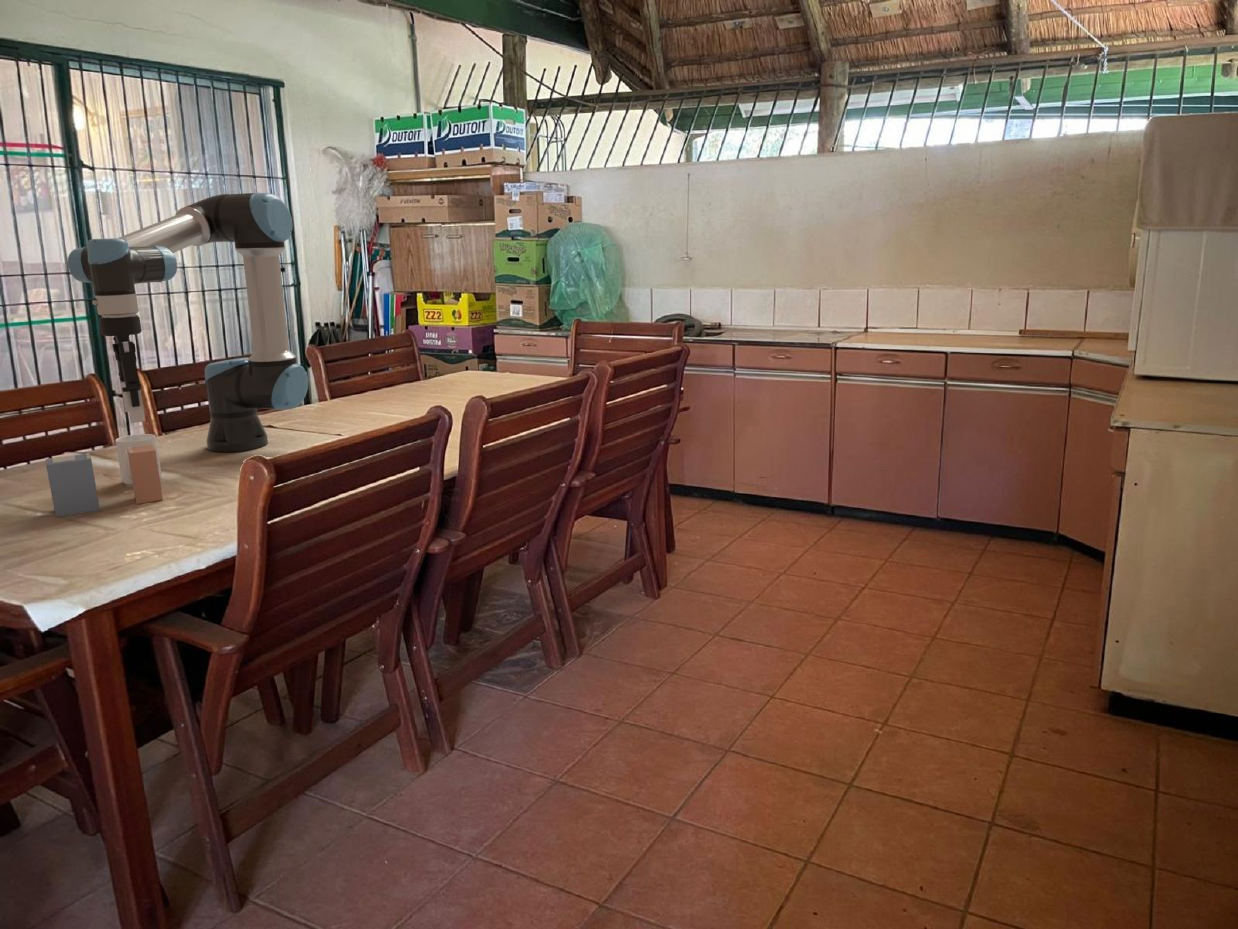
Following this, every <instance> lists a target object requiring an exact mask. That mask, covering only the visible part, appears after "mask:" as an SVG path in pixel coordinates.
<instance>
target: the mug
mask: <svg viewBox="0 0 1238 929" xmlns="http://www.w3.org/2000/svg"><path fill="white" fill-rule="evenodd" d="M114 442H115V446H116V452H117V458H118V465H119V470H120V476H121V481H122V483H123V484H125V485H127V486H133V484H132V478H131V471H130V465H129V459H128V453H127V448H128V447H131V448H133V447H141V446H149V445H153V447H154V449H155V451H156V457H157V464H158V470H159V477H160V479H162V469H161V463H160V457H159V449H158V442H157V437H156V435H155V434H151V433H138V434H130V435H125V436H121V437H118V438H116V439H115V441H114Z"/></svg>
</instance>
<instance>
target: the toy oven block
mask: <svg viewBox="0 0 1238 929" xmlns="http://www.w3.org/2000/svg"><path fill="white" fill-rule="evenodd" d="M45 466H46V472H47V476H48V481H49V482H48V484H49V488H50V494H51V499H52V505H53V510H54V514H55V518H57V517H63V516H65V517H66V516H71V515H76V514H83V513H90V512H96V511H100V510H101V509H100V508H101V507H100V502H99V496H98V495H99V494H98V491H97V490H98V489H97V485H96V479H95V473H94V466H93V461H92V457H91V453H90V452H86V453H82V454H81V453H80V454H75V455H65V456H59V457H52V458H50V457H49V458H45Z"/></svg>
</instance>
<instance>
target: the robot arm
mask: <svg viewBox="0 0 1238 929" xmlns="http://www.w3.org/2000/svg"><path fill="white" fill-rule="evenodd" d="M293 229H294V228H293V219H292V215H291V213H290V210H289V208H288V206H287V204H286V203H284V201H283V200H282V199H281V198H280V197H279V196H277V195H276V194H274V193H267V192H259V191H258V192H249V193H247V192H246V193H223V194H222V193H221V194H216V195H212V196H210V197H207V198H204V199H202V200H199V201H196V202H194V203H191V204H188V205H186V206H184V207H181V208H180V209H178V210H177V211H176V213H175V215H173V216H171V217H168V218H166V219H163V220H160V221H158V222H156V223H152V224H150V225H148V226H145V227H142V228H139V229H138V230H135V231H132V232H129V233H128V234H125V235H122V236H120V237H117V238H115V237H114V238H92V239H89V240H88V241H87V244H86V246H83V247H77V248H74V249H73V250H71V251H70V252H69V254H68V257H67V268H68V271H69V273H70V275H71V276H72V277H73V278H74V279H75V280H77V281H78V282H80V283H88V284H89V283H90V284H92V287H93V292H94V293H93V294H94V298H95V299H93V300H92V305H94V306H96V310H97V314H98V315H99V316H101V317H99V319H98V325H99V330H100V334H101V335H102V336H103V337H112V338H113V341H114V343H112V350H113V353H114V357H115V360H116V362H117V367H118V368H117V369H118V374H117V375H118V376H119V380H120V387H121V388H120V389H121V394H122V400H123V406H124V411H125V412H124V413H129V420H130V423H131V424H133V423H144V422H146V415H145V408H144V403H143V402H144V401H143V396H142V390H141V388H142V385H141V382H140V378H139V373H138V372H139V371H138V366H137V355H136V345H135V343H134V342H133V341H132V340H131V339H130V336H134V335H139V334H141V333H142V325H141V324H142V323H141V318H140V316H139V314H138V313H139V312H140V309H139V308H140V307H139V303H138V302H139V301H138V298H137V297H138V296H137V292H136V286H135V285H137V284H147V283H149V284H150V283H162V282H166V281H170V280H172V279H173V278H174V277H175V276H176V274H177V271H178V262H177V258H176V256H175V254H174V253H177V252H179V251H181V250H184V249H186V248H188V247H191V246H194V247H201V246H205V245H207V244H210V243H223V242H224V243H231V242H232V243H234V248H235V251H236V252H238V254H240V255H241V256H242V262H243V269H244V278H245V285H246V286H245V288H246V295H247V296H246V297H247V306H248V313H249V321H250V322H249V323H250V331H251V340H252V348H253V349H252V350H253V352H252V353H251V355H250V356H249V357H247V356H246V357H238V358H232V359H226V360H221V361H216V362H211V363H208V364H207V365H206V366H205V368H204V378H205V379H204V384H205V389H206V396H207V401H208V402H207V403H208V409H209V415H210V423H209V427H208V432H207V435H206V436H207V437H206V446H207V447H206V449H207V450H209V451H210V452H211V451H212V452H217V453H229V452H231V453H232V452H233V453H234V452H241V451H242V452H243V451H249V450H254V449H258V448H262V447H265V446H266V445H268V443H269V442H268V441H269V440H268V434H267V432H266V430H265V428H264V426H263V423H262V422H261V419H260V417H259V415H258V409H265V410H266V409H267V410H277V411H283V410H292V409H296V408H297V407H298V406H300V405H301V404H302V403H303V401H304V399H305V397H306V395H307V394H308V388H309V377H308V373H307V371H306V369H305V368H304V366H302V365H300V364H298V363H297V356H296V354H294V353H293V352H292V351H291V350H290V345H289V338H288V337H289V336H288V328H287V327H288V326H287V319H286V310H285V308H286V307H285V299H284V291H283V290H284V289H283V281H282V270H281V262H280V260H281V259H280V256H281V253H282V252H283V251H284V250H285V242H286V241H287V240H289V239H290V238H291V236H292V232H293Z"/></svg>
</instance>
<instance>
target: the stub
mask: <svg viewBox="0 0 1238 929" xmlns="http://www.w3.org/2000/svg"><path fill="white" fill-rule="evenodd" d="M127 453H128V459H129V465H130V471H131V478H132V484H133V485H132V489H133V494H134V500H135V502H136V504H137V505H139V504H145V503H152V502H157V501H163V500H164V497H163V492H162V484H161V483H162V482H161V478H160V477H159V470H158V464H157V457H156V451H155V449H154V447H153V445H149V446H141V447H133V448H131V447H128V448H127Z"/></svg>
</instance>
